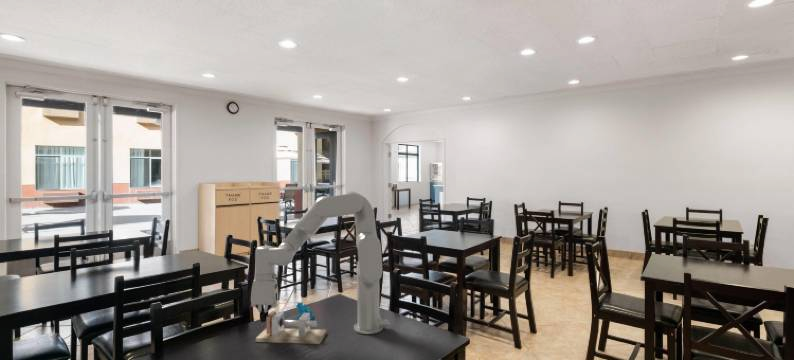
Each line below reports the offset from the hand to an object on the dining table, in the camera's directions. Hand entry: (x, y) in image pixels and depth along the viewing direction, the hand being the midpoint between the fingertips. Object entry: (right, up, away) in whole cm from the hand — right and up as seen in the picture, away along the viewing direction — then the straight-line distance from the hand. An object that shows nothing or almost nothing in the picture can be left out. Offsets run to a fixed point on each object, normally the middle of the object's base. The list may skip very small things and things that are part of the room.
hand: (263, 320), depth 160 cm
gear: (+12, -6, +20) cm, 24 cm away
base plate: (+12, -7, -1) cm, 13 cm away
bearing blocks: (+11, -5, -1) cm, 12 cm away
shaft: (+12, -4, -1) cm, 13 cm away
